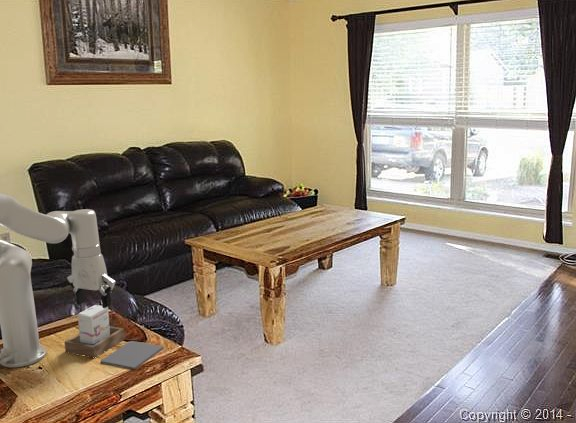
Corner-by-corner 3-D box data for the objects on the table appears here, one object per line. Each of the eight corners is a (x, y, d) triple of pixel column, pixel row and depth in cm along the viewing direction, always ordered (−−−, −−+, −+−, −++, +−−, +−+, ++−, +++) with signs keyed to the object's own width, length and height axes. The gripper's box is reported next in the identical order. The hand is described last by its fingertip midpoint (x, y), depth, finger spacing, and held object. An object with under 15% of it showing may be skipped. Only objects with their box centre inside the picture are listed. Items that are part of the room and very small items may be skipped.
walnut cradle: (94, 358, 164) (93, 347, 163) (65, 352, 168) (64, 341, 167) (125, 338, 176) (124, 328, 176) (97, 333, 180) (96, 323, 180)
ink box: (94, 352, 167) (90, 316, 165) (80, 350, 169) (76, 314, 166) (111, 340, 175) (108, 305, 173) (98, 338, 177) (94, 303, 174)
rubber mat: (134, 369, 157) (134, 367, 156) (100, 362, 161) (100, 360, 161) (163, 348, 169) (163, 346, 169) (131, 342, 174) (131, 340, 174)
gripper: (55, 252, 166) (63, 306, 169) (101, 256, 159) (108, 312, 163) (73, 245, 172) (80, 297, 176) (118, 249, 166) (125, 303, 170)
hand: (94, 304), depth 169 cm, fingers open, 9 cm apart
